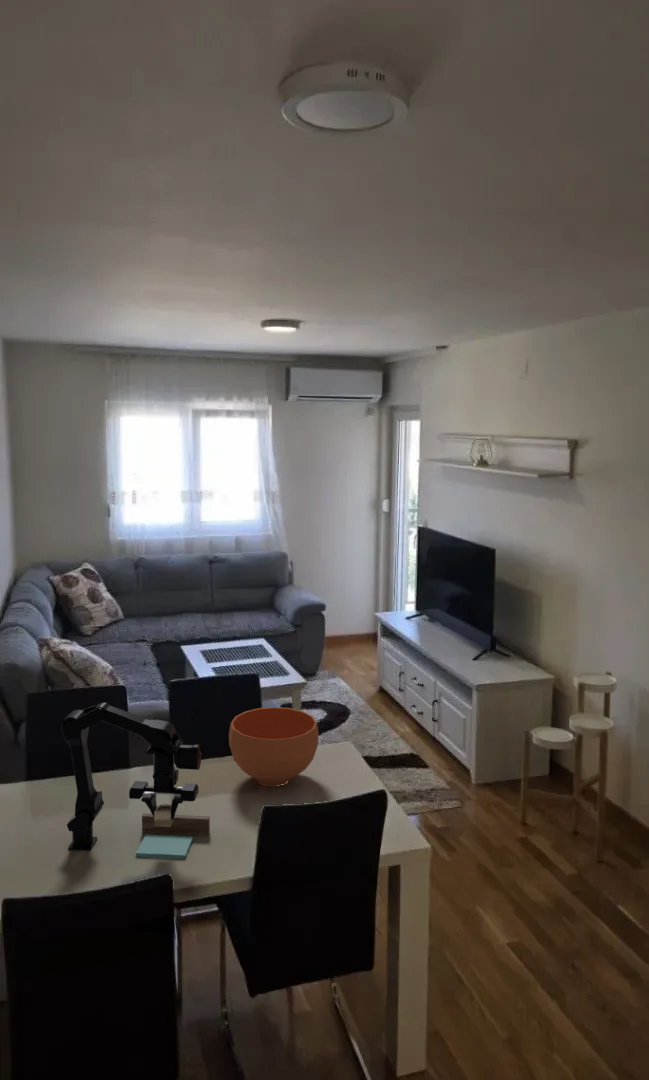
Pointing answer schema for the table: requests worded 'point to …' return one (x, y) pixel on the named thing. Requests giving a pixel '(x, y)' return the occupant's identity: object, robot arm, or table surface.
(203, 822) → the brown wooden plank
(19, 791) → the table surface
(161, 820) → the maple cube
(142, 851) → the display plate
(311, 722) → the bowl
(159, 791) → the robot arm
